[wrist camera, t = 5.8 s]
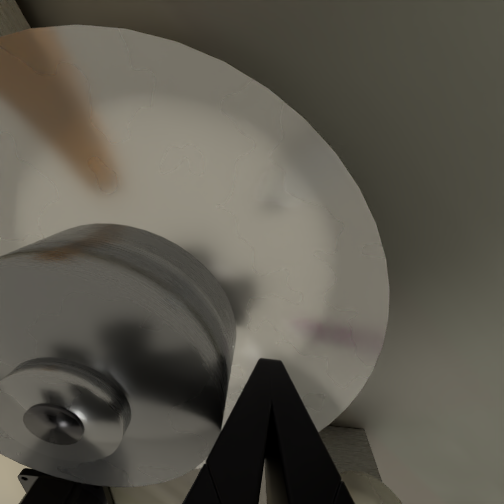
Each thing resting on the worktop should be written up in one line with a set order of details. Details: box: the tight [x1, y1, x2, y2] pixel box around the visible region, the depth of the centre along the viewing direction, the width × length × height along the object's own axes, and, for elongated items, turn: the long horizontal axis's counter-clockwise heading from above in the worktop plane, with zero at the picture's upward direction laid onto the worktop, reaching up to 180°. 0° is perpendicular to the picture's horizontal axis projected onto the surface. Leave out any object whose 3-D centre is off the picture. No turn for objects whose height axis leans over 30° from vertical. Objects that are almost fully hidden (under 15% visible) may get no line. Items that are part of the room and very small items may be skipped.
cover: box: [0, 223, 236, 487], centre depth 8 cm, size 8×8×4 cm
